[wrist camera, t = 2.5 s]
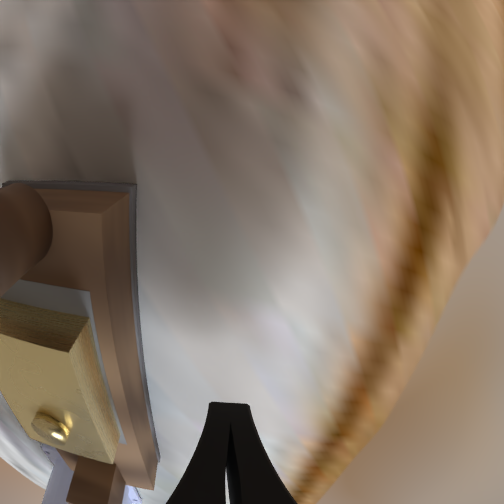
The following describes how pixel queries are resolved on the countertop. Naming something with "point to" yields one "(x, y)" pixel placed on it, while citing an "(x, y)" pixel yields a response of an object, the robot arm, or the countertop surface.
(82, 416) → the lever cap
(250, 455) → the robot arm
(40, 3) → the countertop surface
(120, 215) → the body
